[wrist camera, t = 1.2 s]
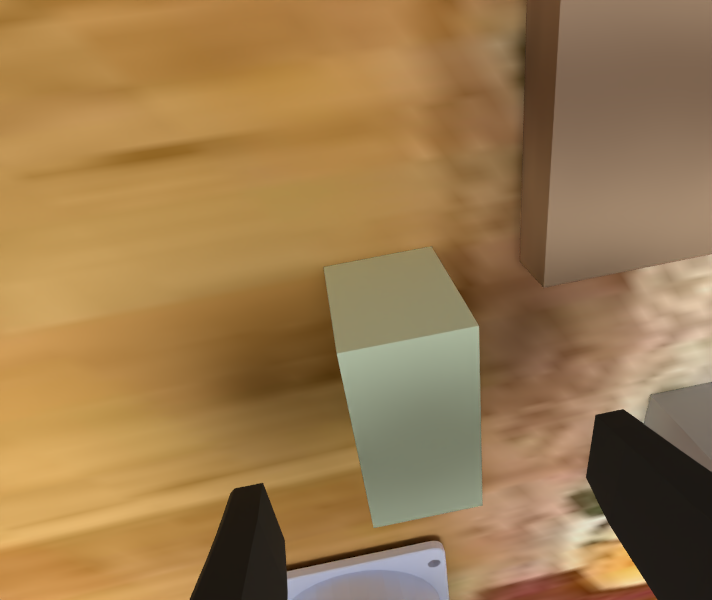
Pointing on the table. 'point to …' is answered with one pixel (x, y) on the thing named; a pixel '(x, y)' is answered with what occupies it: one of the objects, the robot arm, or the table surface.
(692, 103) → the walnut slab
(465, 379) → the sage brick
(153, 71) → the table surface
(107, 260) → the table surface
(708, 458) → the grey brick
